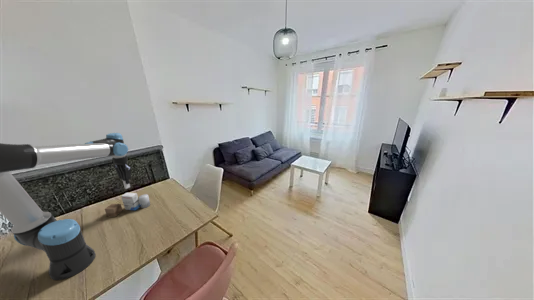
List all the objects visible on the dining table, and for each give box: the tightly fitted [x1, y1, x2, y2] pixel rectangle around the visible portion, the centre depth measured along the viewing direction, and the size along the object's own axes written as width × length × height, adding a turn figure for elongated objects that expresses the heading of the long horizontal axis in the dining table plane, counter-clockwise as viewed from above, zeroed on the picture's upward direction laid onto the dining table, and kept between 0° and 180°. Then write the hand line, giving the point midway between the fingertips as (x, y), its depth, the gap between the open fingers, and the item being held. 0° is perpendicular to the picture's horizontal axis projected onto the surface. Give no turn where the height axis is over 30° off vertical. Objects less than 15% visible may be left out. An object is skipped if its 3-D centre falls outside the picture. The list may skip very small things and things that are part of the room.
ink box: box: [120, 192, 141, 211], centre depth 123 cm, size 9×5×12 cm, turn 84°
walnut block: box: [104, 203, 123, 218], centre depth 118 cm, size 6×6×6 cm
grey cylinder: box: [138, 193, 151, 209], centre depth 127 cm, size 6×6×8 cm
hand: (127, 187), depth 120 cm, fingers closed
